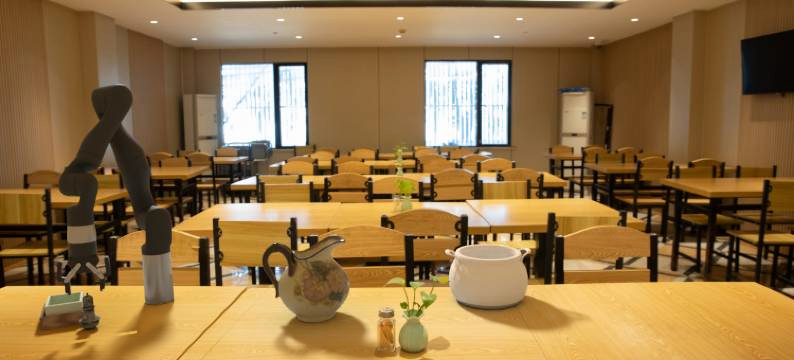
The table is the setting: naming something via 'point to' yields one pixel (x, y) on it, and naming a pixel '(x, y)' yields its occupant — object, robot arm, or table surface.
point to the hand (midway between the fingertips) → (85, 292)
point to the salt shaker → (89, 313)
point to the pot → (488, 276)
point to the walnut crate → (59, 319)
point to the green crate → (64, 303)
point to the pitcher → (310, 280)
